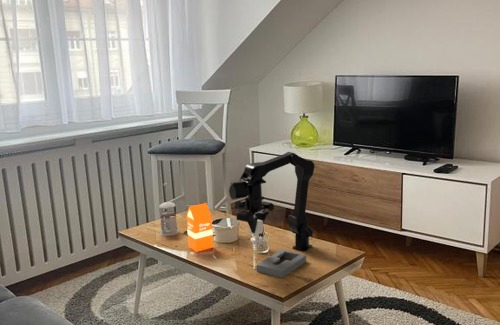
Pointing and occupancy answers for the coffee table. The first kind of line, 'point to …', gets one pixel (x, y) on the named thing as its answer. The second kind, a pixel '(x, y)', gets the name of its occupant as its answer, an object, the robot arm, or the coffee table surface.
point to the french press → (168, 219)
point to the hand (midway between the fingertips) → (256, 231)
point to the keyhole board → (284, 267)
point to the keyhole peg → (257, 233)
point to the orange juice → (199, 227)
